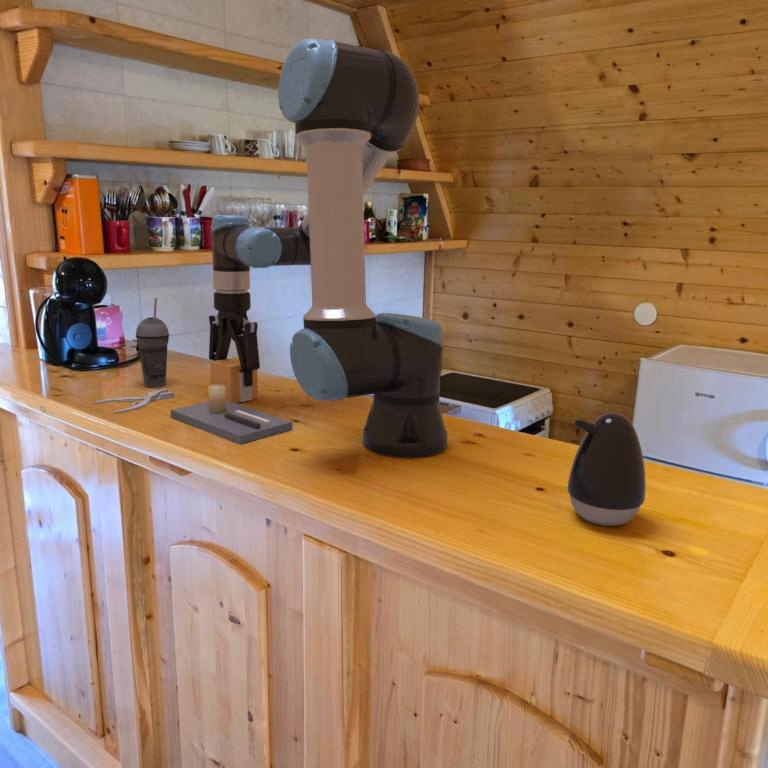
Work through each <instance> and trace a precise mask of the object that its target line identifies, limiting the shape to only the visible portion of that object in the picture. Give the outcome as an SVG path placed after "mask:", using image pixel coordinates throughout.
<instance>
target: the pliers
mask: <svg viewBox="0 0 768 768" xmlns="http://www.w3.org/2000/svg"><path fill="white" fill-rule="evenodd" d="M169 399H175V392H174V391H169V389H167V388H162V389H159V390H153V391H150V392H147V393H146V395H145V396H128V397H127V396H125V397H115V398H113V397H112V398H107V399H101V400H97V401H93V405H98V404H105V403H112V402H113V403H114V402H120V403H132V404H131V405H132V406H129V407H126V408H124V409H123V408H122V409H119V410H114V411H113V414H114V415H115V414H121V413H126V412H127V413H128V412H131V411H134V410H135V411H136V410H139V409H141V408H144V407H146V406H148V405H149V404H150V403H153V402H155V401H156V402H157V401H162V400H169ZM139 401H141V402H139Z"/></svg>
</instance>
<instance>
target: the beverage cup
mask: <svg viewBox="0 0 768 768" xmlns="http://www.w3.org/2000/svg"><path fill="white" fill-rule="evenodd" d="M157 305H158V297H154V306H153V317H146V318H144V319H142V320H141V321H140V322H139V324H138V325H137V327H136V330H135V331H136V332H135V337H136V343H137V346H138V350H139V351H138V352H139V357H140V365H141V372H142V377H143V383H144V386H145V387H146V388H161V387H165V386H166V380H167V368H168V367H167V361H168V345H169V338H170V333H169V330H168V326H167V324H166V323H165V322H164V321H163V320H162V319H160V318H158V317H157Z"/></svg>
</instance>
